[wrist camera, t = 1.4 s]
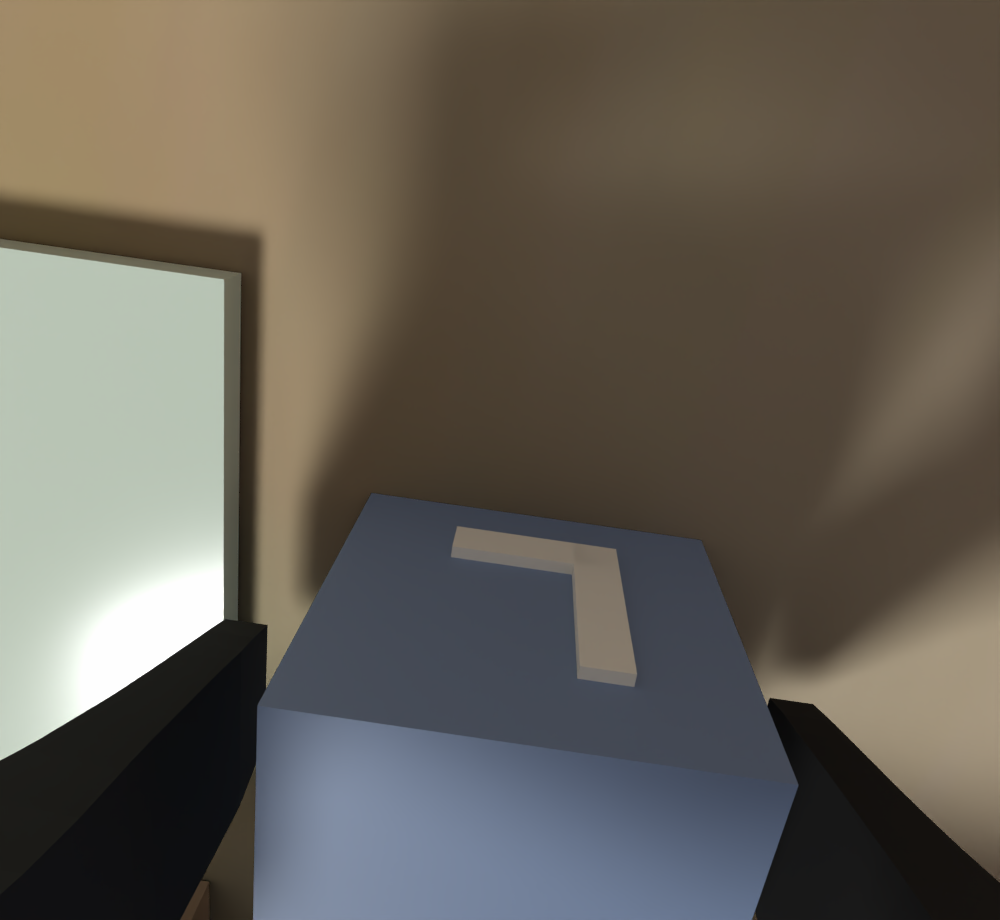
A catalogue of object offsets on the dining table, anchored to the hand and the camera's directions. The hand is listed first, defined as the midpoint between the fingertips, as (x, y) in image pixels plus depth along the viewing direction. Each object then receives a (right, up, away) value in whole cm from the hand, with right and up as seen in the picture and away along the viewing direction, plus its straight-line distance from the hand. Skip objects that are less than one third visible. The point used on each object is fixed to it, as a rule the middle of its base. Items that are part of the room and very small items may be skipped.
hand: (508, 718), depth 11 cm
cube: (0, +1, +2) cm, 2 cm away
